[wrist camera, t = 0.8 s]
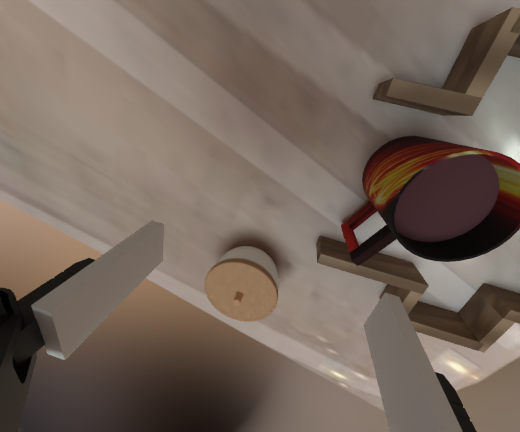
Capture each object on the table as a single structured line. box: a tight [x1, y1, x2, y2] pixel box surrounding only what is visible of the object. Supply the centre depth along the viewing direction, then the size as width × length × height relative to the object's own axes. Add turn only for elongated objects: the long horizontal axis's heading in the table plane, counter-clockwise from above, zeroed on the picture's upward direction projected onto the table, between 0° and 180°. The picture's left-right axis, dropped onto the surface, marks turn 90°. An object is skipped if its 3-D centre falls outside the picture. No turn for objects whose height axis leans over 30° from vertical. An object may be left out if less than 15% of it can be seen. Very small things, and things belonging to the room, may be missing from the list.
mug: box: [341, 136, 520, 266], centre depth 25 cm, size 10×14×12 cm
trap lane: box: [316, 7, 520, 352], centre depth 27 cm, size 34×31×5 cm
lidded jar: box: [205, 246, 279, 321], centre depth 35 cm, size 11×11×9 cm
